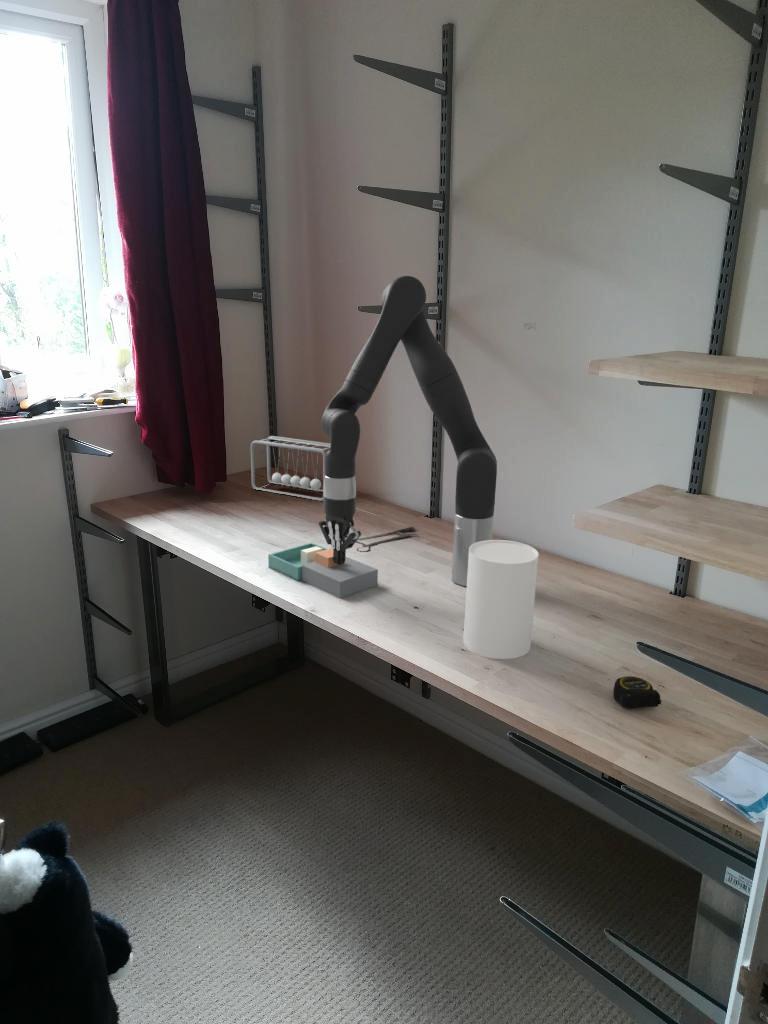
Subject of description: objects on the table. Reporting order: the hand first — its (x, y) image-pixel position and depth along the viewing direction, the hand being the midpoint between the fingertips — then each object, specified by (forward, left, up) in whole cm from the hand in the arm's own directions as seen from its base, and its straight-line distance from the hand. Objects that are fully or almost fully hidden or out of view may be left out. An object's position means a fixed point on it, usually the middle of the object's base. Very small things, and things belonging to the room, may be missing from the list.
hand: (339, 563), depth 178 cm
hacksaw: (+2, -34, -6) cm, 35 cm away
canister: (-43, +14, -5) cm, 46 cm away
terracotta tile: (+4, -2, -1) cm, 4 cm away
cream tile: (+9, -4, -2) cm, 10 cm away
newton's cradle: (+50, -65, -5) cm, 82 cm away
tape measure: (-71, +25, -6) cm, 76 cm away
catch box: (+12, -5, -5) cm, 14 cm away
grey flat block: (0, 0, -5) cm, 5 cm away
